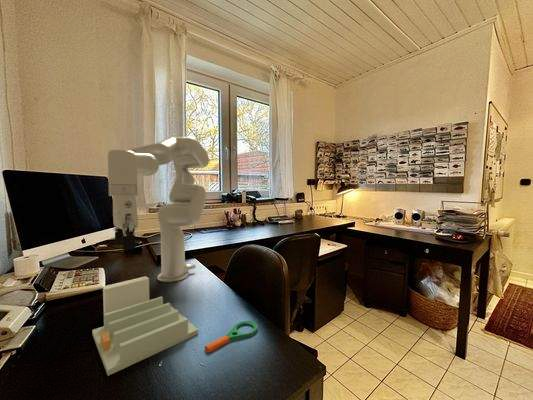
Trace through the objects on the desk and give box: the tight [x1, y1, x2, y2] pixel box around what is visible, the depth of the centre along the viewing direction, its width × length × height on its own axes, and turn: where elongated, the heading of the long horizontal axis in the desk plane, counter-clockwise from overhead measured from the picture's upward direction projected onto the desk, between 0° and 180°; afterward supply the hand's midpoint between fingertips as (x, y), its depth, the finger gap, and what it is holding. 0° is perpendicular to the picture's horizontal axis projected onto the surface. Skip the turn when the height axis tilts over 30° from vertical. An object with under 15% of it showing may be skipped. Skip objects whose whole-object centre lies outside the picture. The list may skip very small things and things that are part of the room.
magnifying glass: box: [204, 320, 258, 354], centre depth 60 cm, size 15×6×2 cm, turn 135°
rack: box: [91, 295, 199, 377], centre depth 61 cm, size 20×19×5 cm
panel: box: [102, 275, 150, 315], centre depth 74 cm, size 12×3×9 cm, turn 134°
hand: (124, 246), depth 73 cm, fingers open, 9 cm apart
